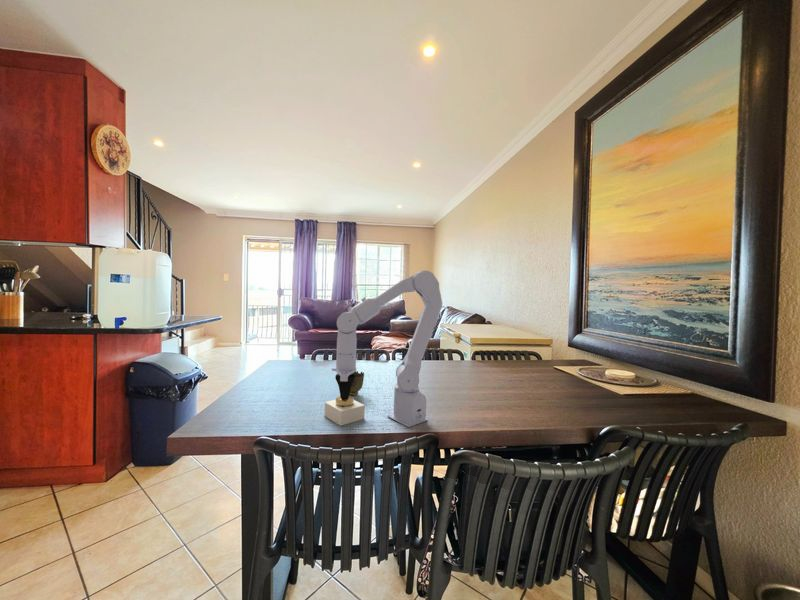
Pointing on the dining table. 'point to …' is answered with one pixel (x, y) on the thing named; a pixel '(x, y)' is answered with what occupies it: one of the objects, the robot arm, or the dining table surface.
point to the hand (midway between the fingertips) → (344, 398)
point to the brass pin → (344, 402)
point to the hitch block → (344, 412)
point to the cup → (357, 383)
